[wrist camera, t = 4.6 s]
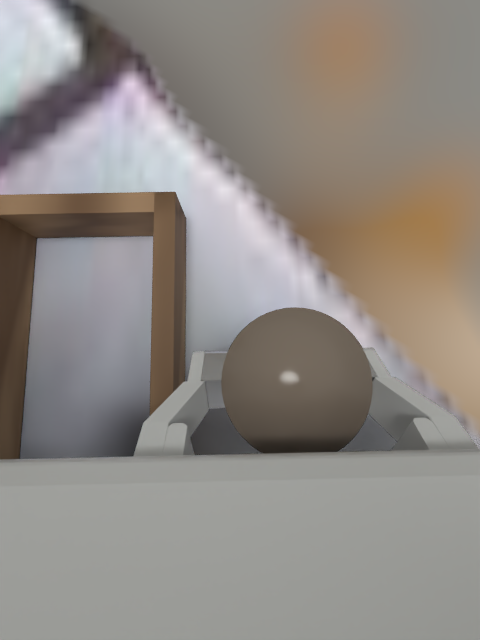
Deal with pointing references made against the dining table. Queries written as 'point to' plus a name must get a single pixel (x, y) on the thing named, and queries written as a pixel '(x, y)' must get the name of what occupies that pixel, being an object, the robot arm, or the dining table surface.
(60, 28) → the dining table surface
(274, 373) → the jar
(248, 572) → the robot arm
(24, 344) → the brown wooden rectangular frame
